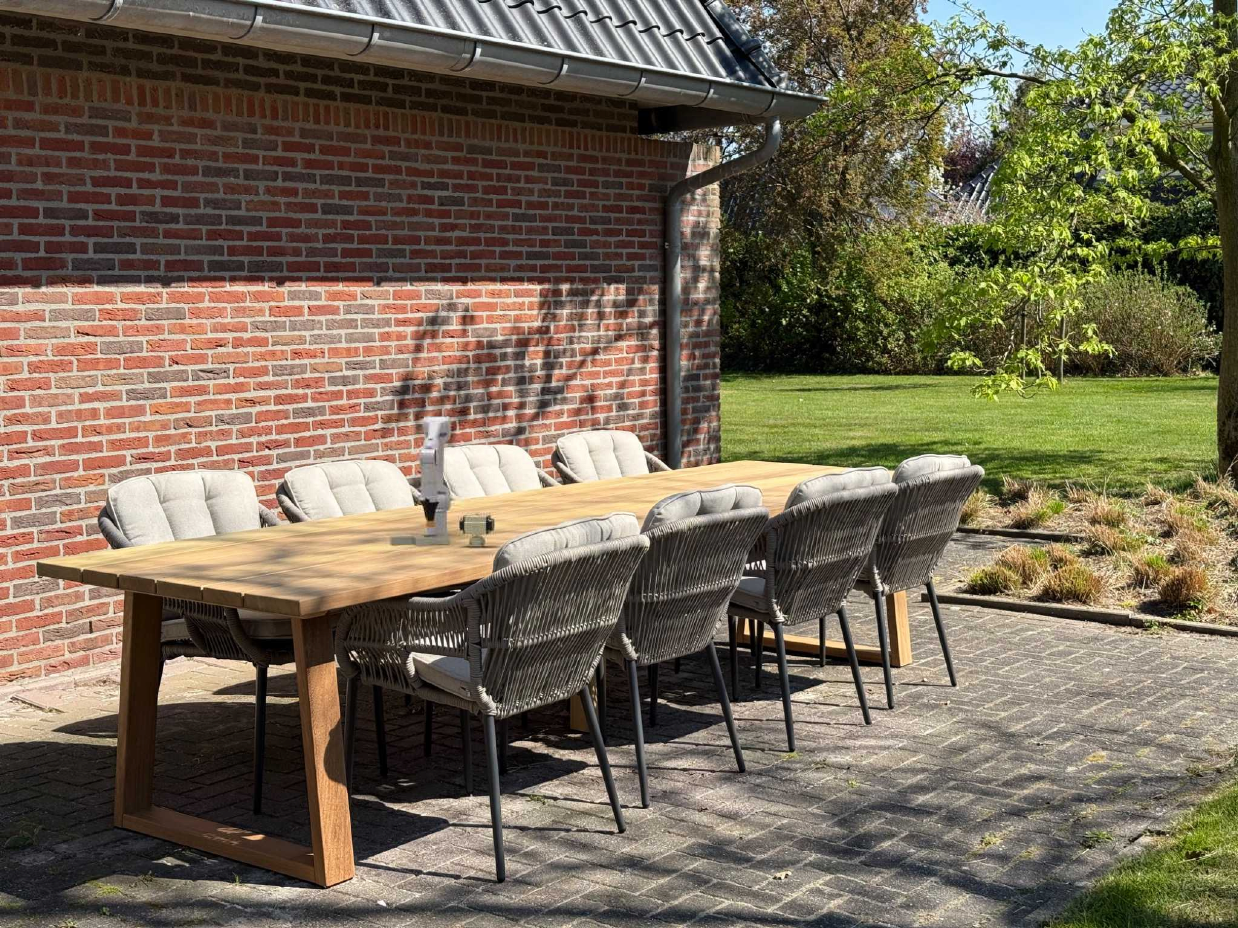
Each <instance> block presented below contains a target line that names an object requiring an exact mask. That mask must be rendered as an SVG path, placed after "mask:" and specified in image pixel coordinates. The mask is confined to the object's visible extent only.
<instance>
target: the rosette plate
mask: <svg viewBox="0 0 1238 928" xmlns="http://www.w3.org/2000/svg"><path fill="white" fill-rule="evenodd" d="M450 538H451V537H450V535H449V536H447V535H446V534H444V533H431V534H425V533H412V534H410V535H402V536H401V535H399V536H396V535H395V536H389V544H390V545H391V546H406V545H414V546H416V547H417V546H421V547H422V546H439V545H440V546H442V545H450V543H451V541H450V540H451V539H450Z"/></svg>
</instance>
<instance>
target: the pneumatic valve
mask: <svg viewBox="0 0 1238 928" xmlns="http://www.w3.org/2000/svg"><path fill="white" fill-rule="evenodd" d="M458 525H459V527H458V528H459V531H462V534H463V535H472V537H470V538H469V540H468V543H469V545H470V547H471V548H481V547H483V546H485V544H486V539H485V538H484V536H483V535H490V534H491V533H492V532H494V530H495V526H496V524H495V519H494V518H492V515H491V514H479V512H475V514H465V515H463V516H462V517H461V518H460V519H459V524H458Z"/></svg>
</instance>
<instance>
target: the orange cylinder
mask: <svg viewBox="0 0 1238 928" xmlns="http://www.w3.org/2000/svg"><path fill="white" fill-rule="evenodd" d="M425 521H426V522H425V524H426V525H425V526H426V528H427V527H435V517H434V521H428V520H427V516H426V518H425Z"/></svg>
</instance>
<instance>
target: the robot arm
mask: <svg viewBox="0 0 1238 928" xmlns="http://www.w3.org/2000/svg"><path fill="white" fill-rule="evenodd" d="M451 428H452V421H451V417H450V416H447V415H446V416H424V417H423V419H422V430H423V434H424V437H425V438H424V439H423V443H422V449H421V450H419V453H418V461H419V468H420V469H419V470H420V485H421V486H420V493H421V494H418V495H417V497H418V498H421V500H420V504H421V506H422V509H423V512H424V518H425V519H426V516H427V520H428V521H434V517H435V527H426V531H424V533H423V534H431V533H444V534H446V535H447V536H449V537H450V535H451V534H450V533H449V532H448V511H450V509H451V506H452V505H451V504H452V498H451V497H452V496H451V490H450V488H448V487H447V486H446V485H445V484H444V463H445V462H444V461H445V459H444V458H445V444H446V442H447V441H449V440H450V439H451V434H452V432H451V431H452V430H451Z"/></svg>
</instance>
